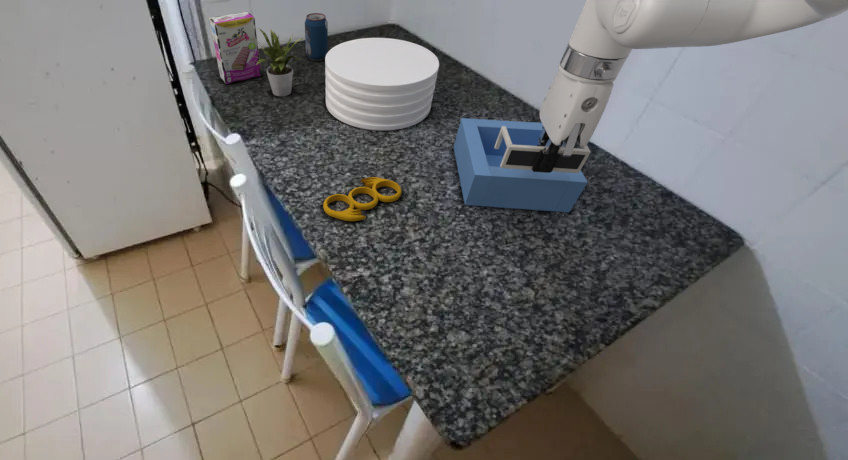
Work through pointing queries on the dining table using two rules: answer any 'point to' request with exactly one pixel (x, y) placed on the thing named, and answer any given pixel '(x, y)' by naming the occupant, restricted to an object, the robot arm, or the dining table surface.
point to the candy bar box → (235, 46)
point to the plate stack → (380, 83)
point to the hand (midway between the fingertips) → (539, 167)
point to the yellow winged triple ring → (357, 214)
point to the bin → (509, 170)
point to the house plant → (278, 65)
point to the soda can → (316, 36)
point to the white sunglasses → (527, 155)
